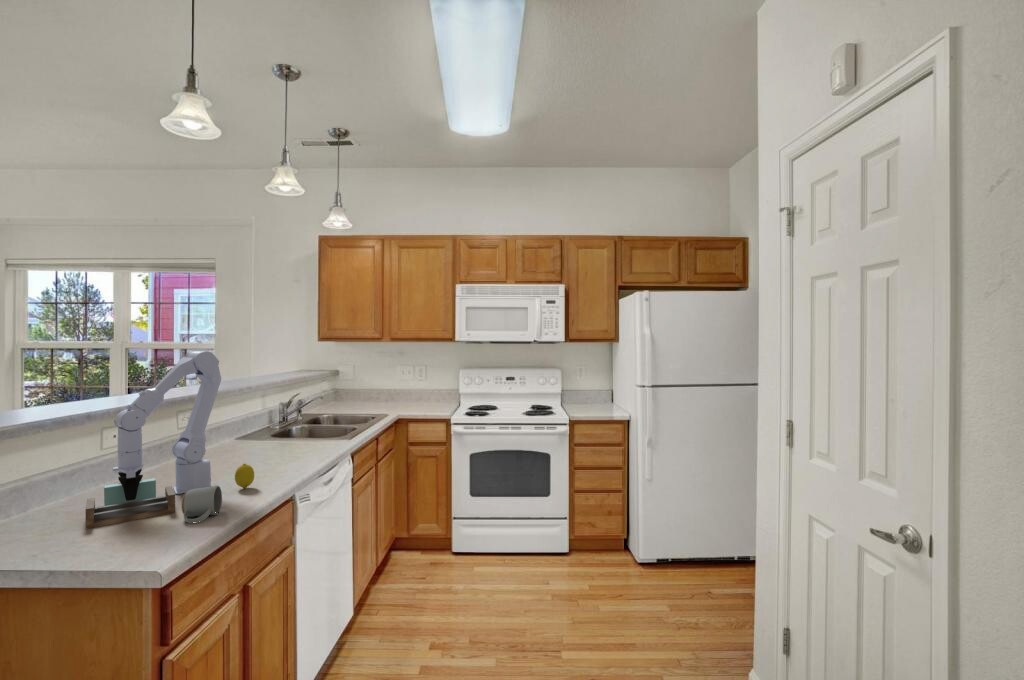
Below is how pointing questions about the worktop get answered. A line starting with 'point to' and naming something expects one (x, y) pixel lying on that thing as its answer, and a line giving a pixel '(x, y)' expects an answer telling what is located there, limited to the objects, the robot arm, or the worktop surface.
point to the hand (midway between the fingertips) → (130, 497)
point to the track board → (129, 510)
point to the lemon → (244, 475)
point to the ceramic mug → (201, 503)
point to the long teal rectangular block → (117, 496)
